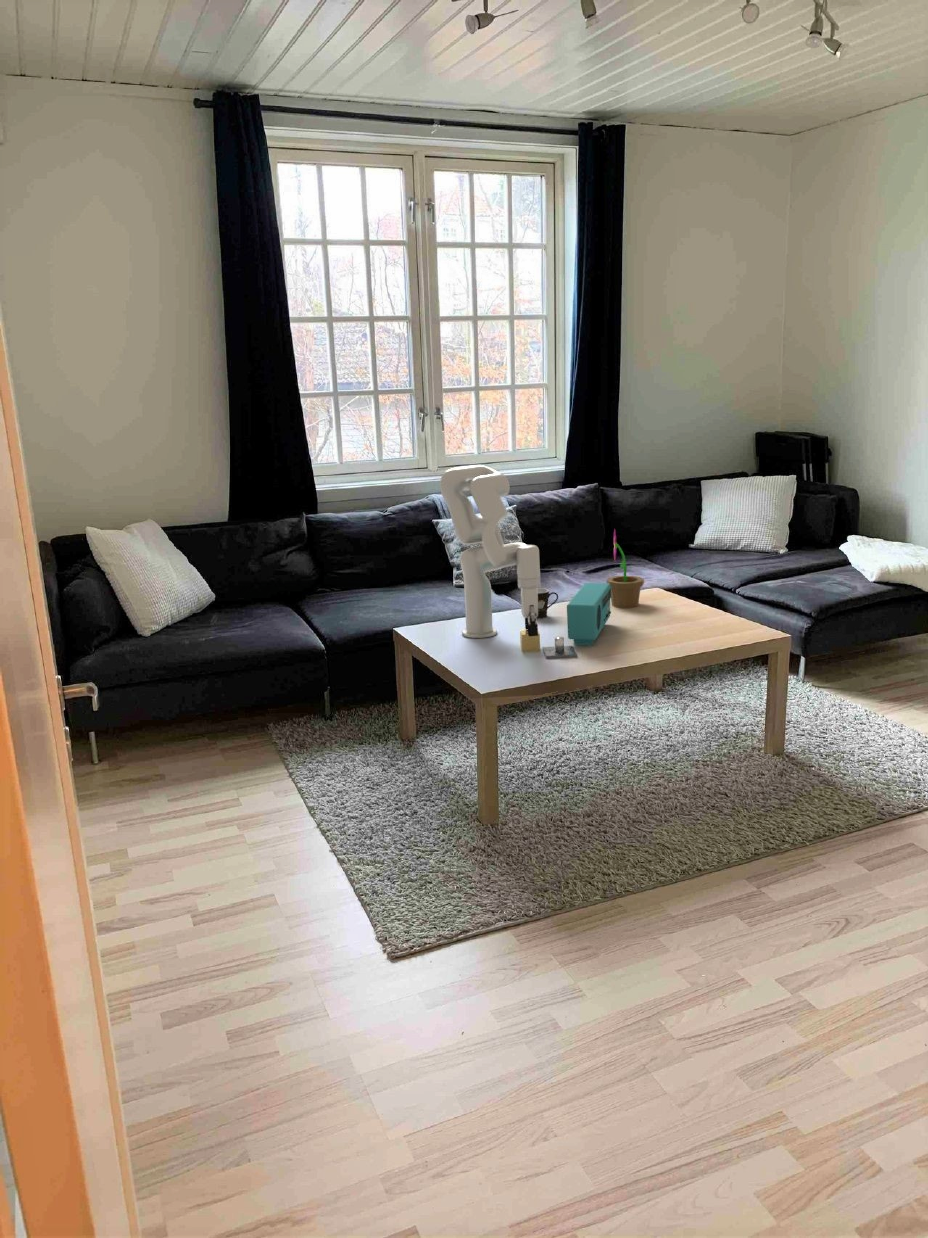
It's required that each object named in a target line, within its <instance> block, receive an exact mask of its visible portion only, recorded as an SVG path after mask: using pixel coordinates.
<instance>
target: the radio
mask: <svg viewBox="0 0 928 1238" xmlns="http://www.w3.org/2000/svg"><path fill="white" fill-rule="evenodd" d="M611 613H612V611H611V587H610V584H609V583H607V582H585V583H584V584H583V585H582V586H581V587H580V589H579V590H578V591H577V593H576V594H575V595H574V596H573V597H572V598H571V600H569V602H568V604H567V605H566V618H567V619H566V620H567V621H566V622H567V623H566V624H567V638H568V640H573V642H574V644H573V645H581V646H589V647H590V646H591V647H592V646H593V644H594V641H596V640H597V638H598V636H599V635H600V633H601V632H602V630H603V629H604V627H605V626H606V624H607V622H608V620H609V618H610V617H611Z"/></svg>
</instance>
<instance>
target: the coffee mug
mask: <svg viewBox="0 0 928 1238" xmlns="http://www.w3.org/2000/svg"><path fill="white" fill-rule="evenodd" d="M537 592H538V616H537V617H536V618H537V619H544V618H546V617H548V610H549V608H551V607H552V606H553V605H555V604H556V602H557V601H558V599H559V595H558V593H557V592H555V591H553V592H550V589H548V588H543V587H539V588H537ZM551 595H555V596H556V598H555V600H554V601H553V602H552V603H550V604H549V598H550V596H551Z"/></svg>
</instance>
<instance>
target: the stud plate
mask: <svg viewBox="0 0 928 1238" xmlns="http://www.w3.org/2000/svg"><path fill="white" fill-rule="evenodd" d="M542 652H543V654H544V657H545V659H546V660H550V659H569V658H571V659H573V658H578V654H577V652H576V650H575V648H574V646H573V645H565V638H564V637H563V636H556V637H554V646H543V647H542Z"/></svg>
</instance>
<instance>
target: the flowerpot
mask: <svg viewBox="0 0 928 1238" xmlns="http://www.w3.org/2000/svg"><path fill="white" fill-rule="evenodd" d="M613 530H614V531H613V546H614V547H613V560H614V562H616V561H617V549H618V550H619V552H620V555H621V558H622V561H621V564H620V565H619V567H620V568H621V569H623V575H615V576H611V577H608V578H607V579H606V583H609V584H610V587H611V598H610V603H611V606H612V607H614V608H619V609H632V608H636V607H638V606H639V602H640V594H641V587H643V586H644V585H645V579H644V578H643V577H641V576H636V575H627V570H628V568H627V562H626V556H625V554H624V551H623V549H622V548H621V546H620V545H619V544H618V542H617V535H616V533H617V531H616V529H615V528H614V529H613Z"/></svg>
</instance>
